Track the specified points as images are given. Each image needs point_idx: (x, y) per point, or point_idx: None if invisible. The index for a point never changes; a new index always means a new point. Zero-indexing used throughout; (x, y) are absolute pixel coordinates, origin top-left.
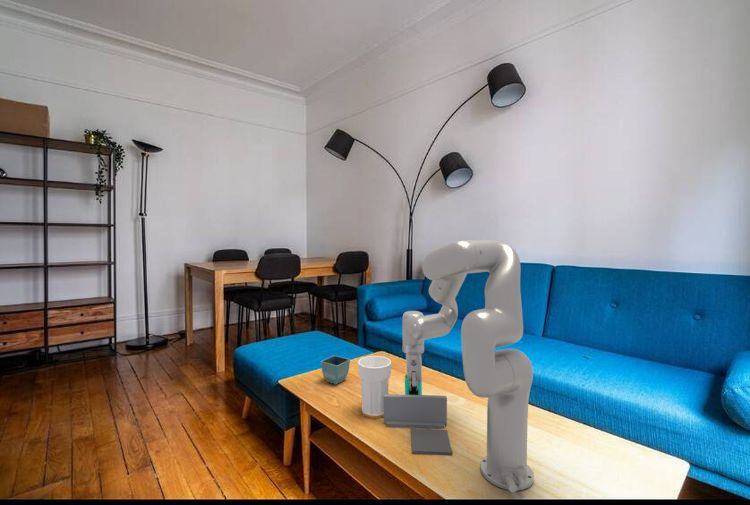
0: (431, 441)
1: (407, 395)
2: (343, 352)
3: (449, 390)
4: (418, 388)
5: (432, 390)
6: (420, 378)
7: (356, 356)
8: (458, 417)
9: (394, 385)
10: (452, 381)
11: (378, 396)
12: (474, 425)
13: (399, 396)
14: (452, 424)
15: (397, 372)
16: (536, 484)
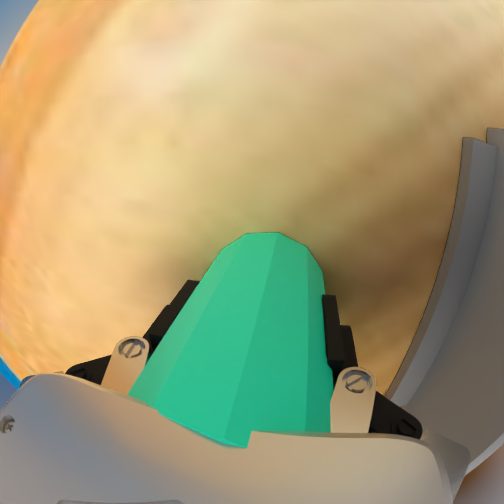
0: None
1: (497, 443)
2: (8, 379)
3: (74, 49)
4: (323, 367)
5: (73, 143)
6: (450, 501)
7: (4, 364)
8: (426, 29)
9: (78, 328)
10: (14, 59)
11: None
12: (480, 3)
13: (477, 464)
14: (494, 98)
15: (4, 290)
16: None
